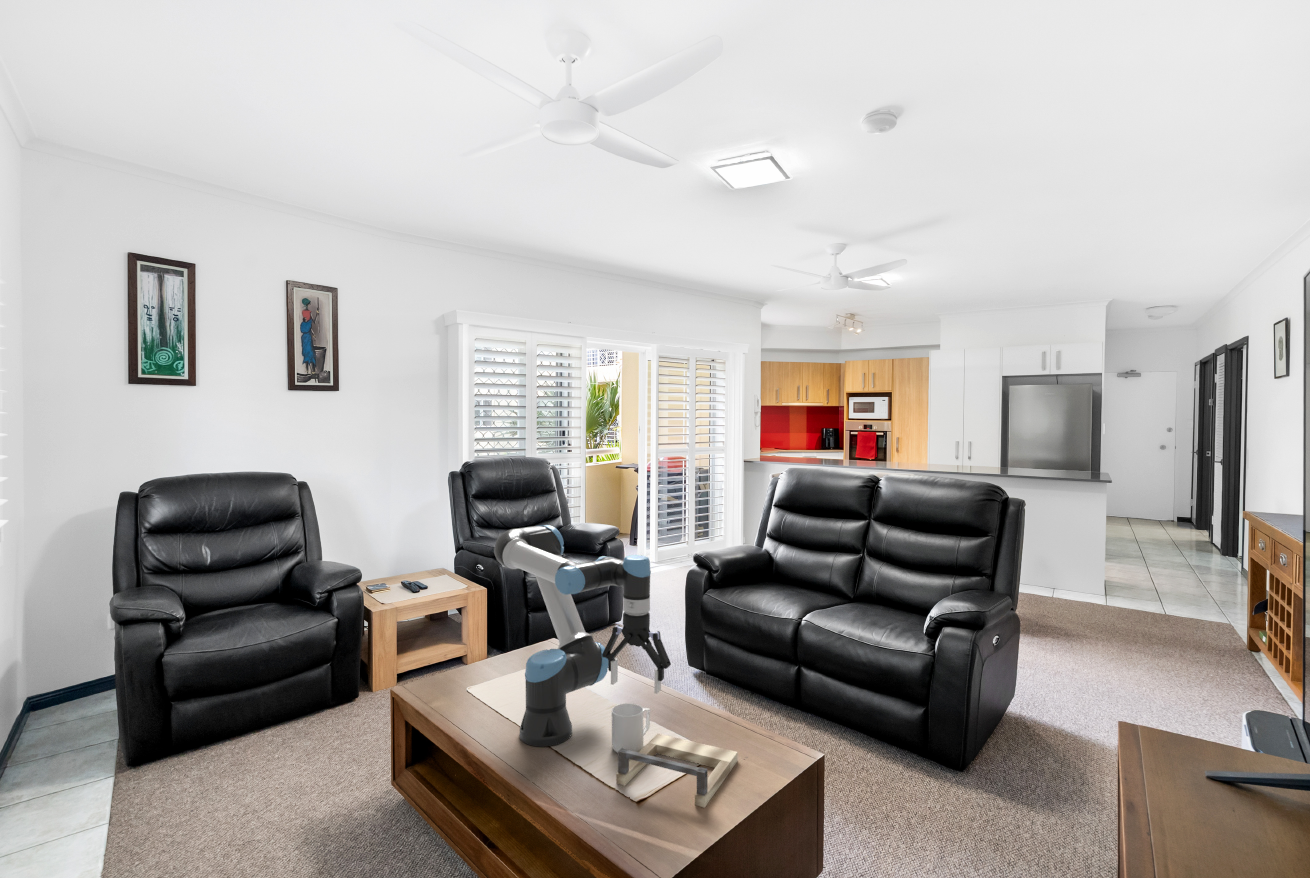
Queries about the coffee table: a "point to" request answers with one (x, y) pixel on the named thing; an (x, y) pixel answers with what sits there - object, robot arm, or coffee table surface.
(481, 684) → the coffee table surface
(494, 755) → the coffee table surface
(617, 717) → the mug
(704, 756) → the beige and grey frame
